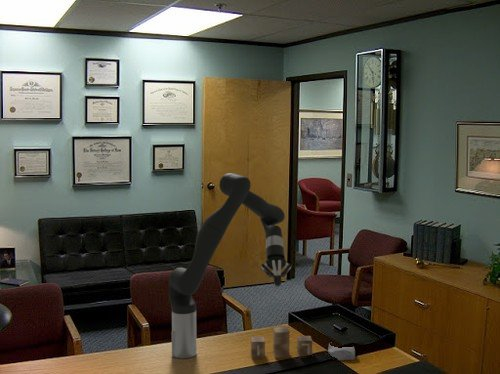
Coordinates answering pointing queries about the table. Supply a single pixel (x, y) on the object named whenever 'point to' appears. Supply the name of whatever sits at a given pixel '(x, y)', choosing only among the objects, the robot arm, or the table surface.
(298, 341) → the block seven
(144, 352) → the table surface
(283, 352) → the plain pillar
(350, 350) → the stone block
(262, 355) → the block one
